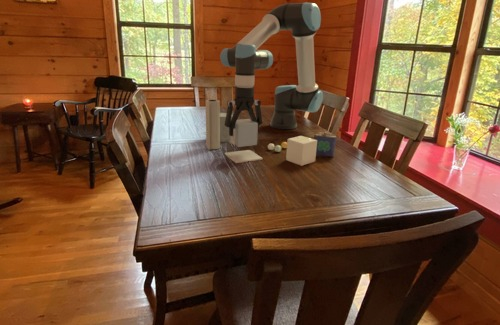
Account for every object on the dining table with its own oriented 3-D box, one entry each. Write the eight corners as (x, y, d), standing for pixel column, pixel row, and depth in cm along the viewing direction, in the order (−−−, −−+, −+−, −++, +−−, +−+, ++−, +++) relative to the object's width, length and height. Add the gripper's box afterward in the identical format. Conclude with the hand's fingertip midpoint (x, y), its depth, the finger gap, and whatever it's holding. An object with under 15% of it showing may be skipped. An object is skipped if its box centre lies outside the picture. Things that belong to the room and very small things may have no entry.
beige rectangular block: (299, 156, 141) (301, 135, 138) (315, 161, 135) (317, 140, 132) (286, 159, 136) (287, 138, 132) (301, 165, 130) (303, 143, 127)
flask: (334, 155, 142) (337, 131, 139) (333, 157, 140) (336, 133, 136) (312, 153, 145) (314, 129, 141) (311, 155, 142) (314, 131, 138)
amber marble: (278, 144, 150) (281, 148, 152) (283, 145, 148) (285, 150, 149) (283, 139, 151) (285, 144, 152) (287, 141, 148) (290, 146, 150)
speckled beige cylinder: (230, 143, 156) (231, 117, 152) (211, 141, 158) (211, 116, 154) (235, 137, 165) (236, 113, 161) (217, 136, 167) (217, 112, 162)
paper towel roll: (214, 145, 152) (213, 98, 145) (222, 148, 148) (222, 100, 141) (201, 148, 148) (200, 100, 140) (209, 151, 144) (209, 102, 136)
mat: (249, 151, 145) (249, 149, 145) (262, 159, 135) (262, 158, 135) (224, 154, 140) (224, 152, 140) (235, 163, 130) (235, 161, 130)
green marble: (279, 150, 147) (279, 144, 146) (282, 152, 145) (282, 146, 144) (273, 151, 146) (273, 144, 145) (276, 153, 143) (276, 146, 142)
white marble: (272, 150, 149) (272, 143, 149) (275, 150, 146) (275, 143, 146) (266, 149, 148) (266, 143, 148) (269, 150, 145) (269, 143, 145)
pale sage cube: (248, 139, 141) (248, 118, 138) (257, 144, 134) (257, 123, 131) (230, 141, 137) (230, 120, 134) (238, 146, 130) (238, 124, 127)
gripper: (264, 84, 135) (261, 137, 143) (215, 85, 126) (215, 142, 134) (273, 86, 129) (270, 142, 137) (222, 88, 120) (222, 147, 128)
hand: (243, 142), depth 135 cm, fingers closed on pale sage cube, 8 cm apart
